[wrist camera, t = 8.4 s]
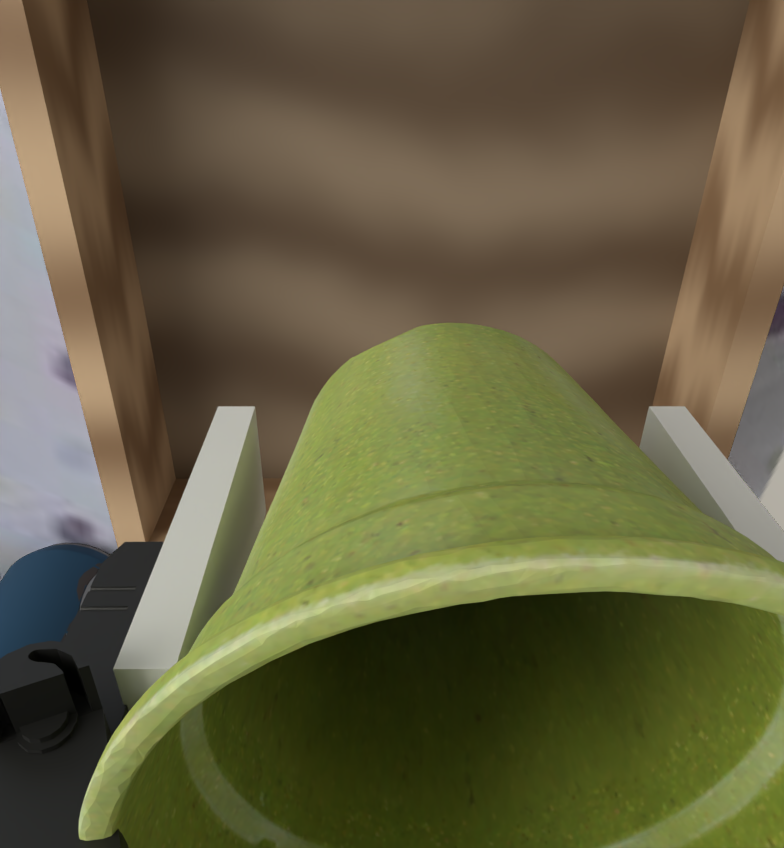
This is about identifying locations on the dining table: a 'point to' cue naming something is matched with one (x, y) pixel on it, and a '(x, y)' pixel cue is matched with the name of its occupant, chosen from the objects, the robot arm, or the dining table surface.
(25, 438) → the dining table surface
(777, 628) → the plant pot
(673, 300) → the wooden tray
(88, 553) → the soda can
